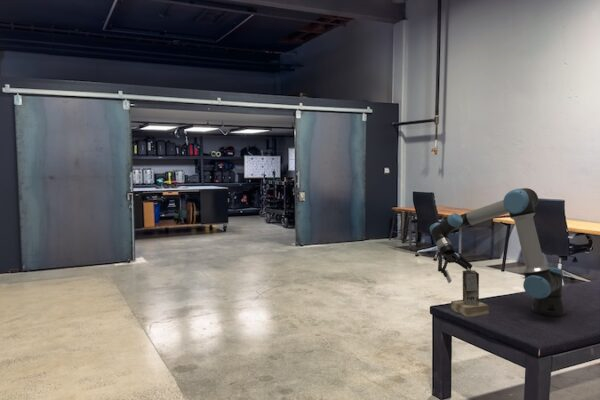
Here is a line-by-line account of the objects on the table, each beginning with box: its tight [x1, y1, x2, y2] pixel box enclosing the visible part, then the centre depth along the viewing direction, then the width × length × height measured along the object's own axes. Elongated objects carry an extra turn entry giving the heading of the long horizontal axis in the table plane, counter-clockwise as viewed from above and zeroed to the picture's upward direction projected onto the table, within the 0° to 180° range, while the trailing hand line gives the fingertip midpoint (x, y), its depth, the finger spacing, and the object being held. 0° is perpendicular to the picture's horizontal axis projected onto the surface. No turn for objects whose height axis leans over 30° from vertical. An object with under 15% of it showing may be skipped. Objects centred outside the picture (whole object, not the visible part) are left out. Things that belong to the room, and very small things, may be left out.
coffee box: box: [462, 269, 480, 305], centre depth 247 cm, size 9×6×16 cm
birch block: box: [450, 299, 490, 318], centre depth 247 cm, size 13×13×5 cm
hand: (461, 280), depth 253 cm, fingers open, 13 cm apart
